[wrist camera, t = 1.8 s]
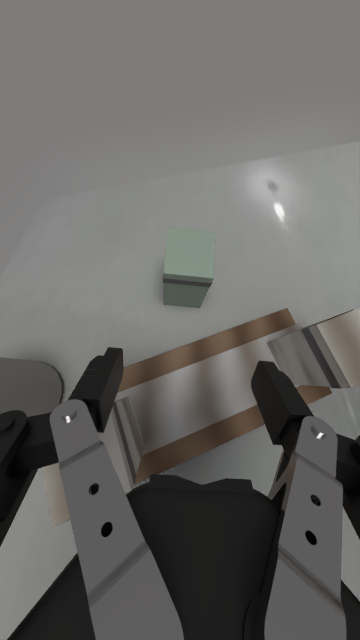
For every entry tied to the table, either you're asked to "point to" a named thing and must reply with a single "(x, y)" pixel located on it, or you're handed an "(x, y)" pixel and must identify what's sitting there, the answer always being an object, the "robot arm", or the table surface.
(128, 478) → the wooden block stand
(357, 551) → the table surface
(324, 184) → the table surface
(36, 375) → the can
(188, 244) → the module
